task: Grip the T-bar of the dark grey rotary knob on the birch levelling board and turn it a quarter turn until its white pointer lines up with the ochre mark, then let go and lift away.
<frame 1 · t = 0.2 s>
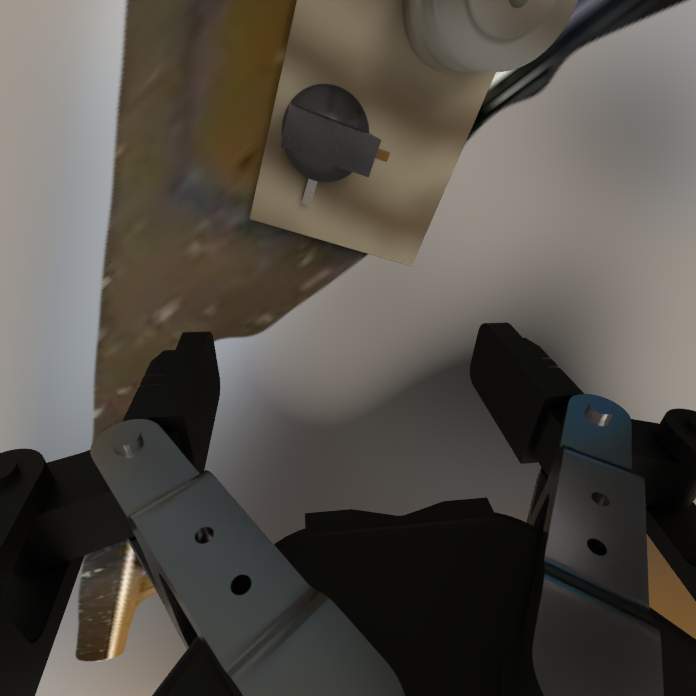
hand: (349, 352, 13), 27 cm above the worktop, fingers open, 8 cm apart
dark grey rotary knob: (323, 153, 29), point 5 cm above the worktop, hinge at 0.0°
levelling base: (379, 91, 32), on the worktop
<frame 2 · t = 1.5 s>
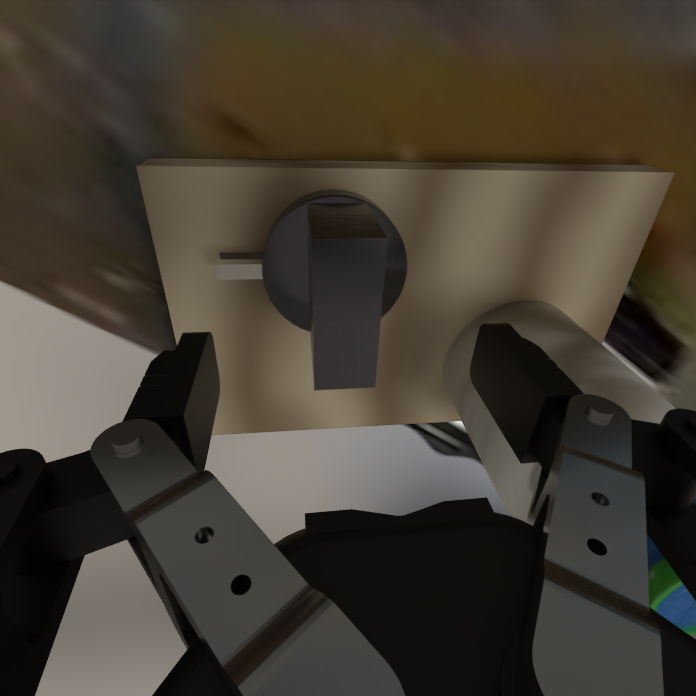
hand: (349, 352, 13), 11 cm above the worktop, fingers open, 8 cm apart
snack cup: (621, 470, 35), on the worktop
dark grey rotary knob: (314, 287, 17), point 5 cm above the worktop, hinge at 0.0°
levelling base: (398, 303, 24), on the worktop
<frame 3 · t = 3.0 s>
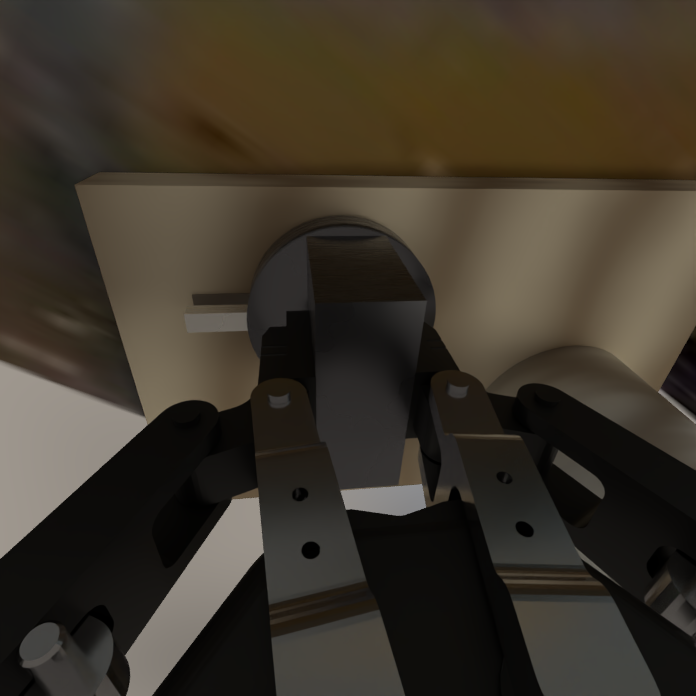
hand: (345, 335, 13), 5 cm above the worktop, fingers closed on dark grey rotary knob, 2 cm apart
dark grey rotary knob: (316, 347, 13), point 5 cm above the worktop, hinge at 0.0°, touching gripper
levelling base: (416, 345, 20), on the worktop
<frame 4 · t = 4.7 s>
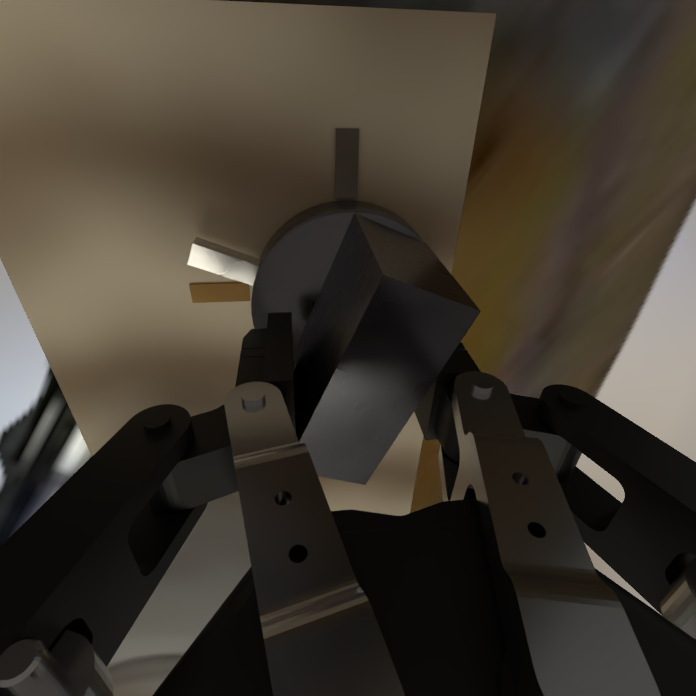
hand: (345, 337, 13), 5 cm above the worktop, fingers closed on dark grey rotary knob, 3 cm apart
dark grey rotary knob: (325, 325, 12), point 5 cm above the worktop, hinge at 67.6°, touching gripper
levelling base: (260, 352, 19), on the worktop
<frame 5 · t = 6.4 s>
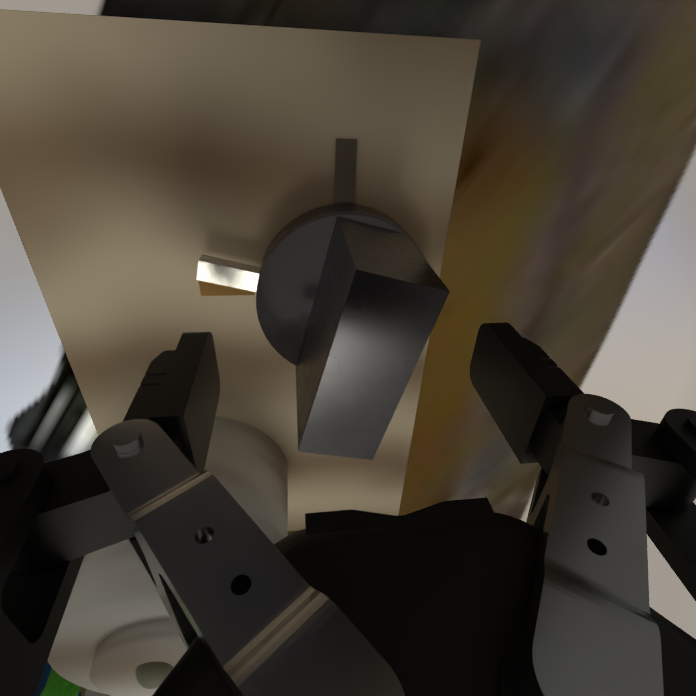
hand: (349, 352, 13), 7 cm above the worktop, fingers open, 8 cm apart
snack cup: (46, 599, 29), on the worktop
dark grey rotary knob: (322, 319, 13), point 5 cm above the worktop, hinge at 75.8°
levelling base: (261, 345, 20), on the worktop
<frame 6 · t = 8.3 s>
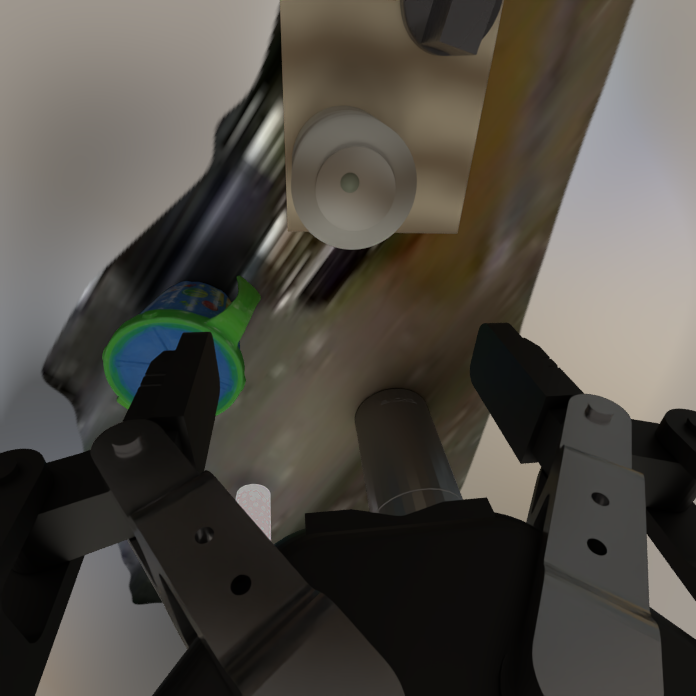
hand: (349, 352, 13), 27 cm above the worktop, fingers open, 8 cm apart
snack cup: (199, 311, 41), on the worktop
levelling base: (383, 66, 31), on the worktop
beverage cup: (253, 493, 58), on the worktop
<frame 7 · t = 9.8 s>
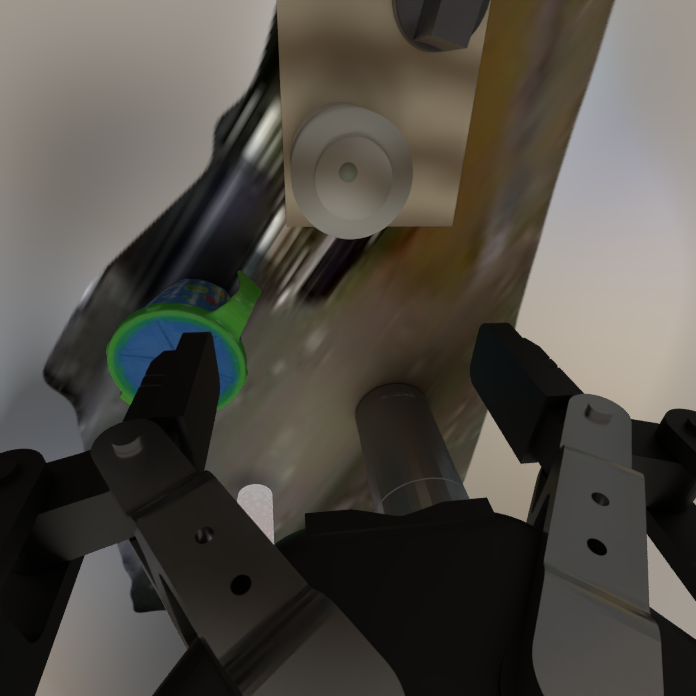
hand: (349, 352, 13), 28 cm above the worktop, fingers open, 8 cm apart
snack cup: (200, 309, 42), on the worktop
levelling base: (377, 64, 32), on the worktop
beverage cup: (255, 493, 58), on the worktop
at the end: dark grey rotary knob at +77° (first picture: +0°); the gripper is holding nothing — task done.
